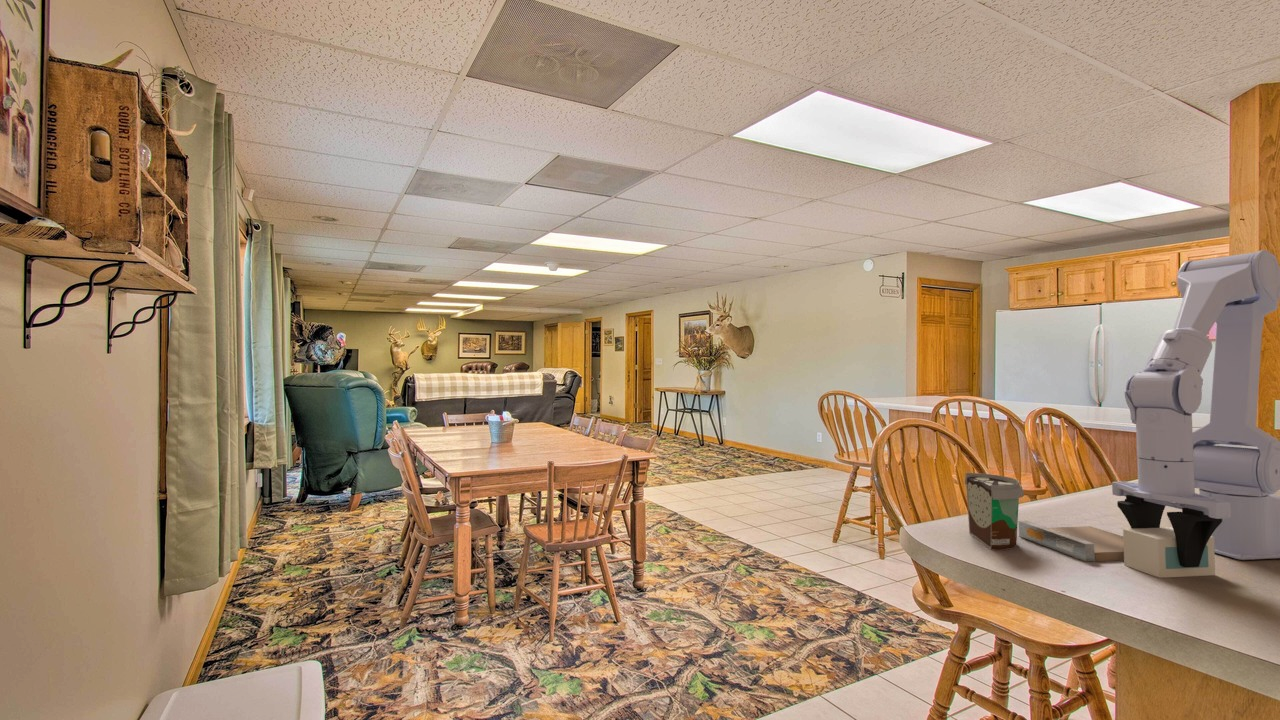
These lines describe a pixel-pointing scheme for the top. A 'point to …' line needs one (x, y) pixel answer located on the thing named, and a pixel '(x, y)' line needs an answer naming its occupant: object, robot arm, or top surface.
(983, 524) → the food container
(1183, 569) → the carton
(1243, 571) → the top surface
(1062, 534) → the price rail
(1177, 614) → the top surface
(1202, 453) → the robot arm
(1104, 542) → the shelf board
